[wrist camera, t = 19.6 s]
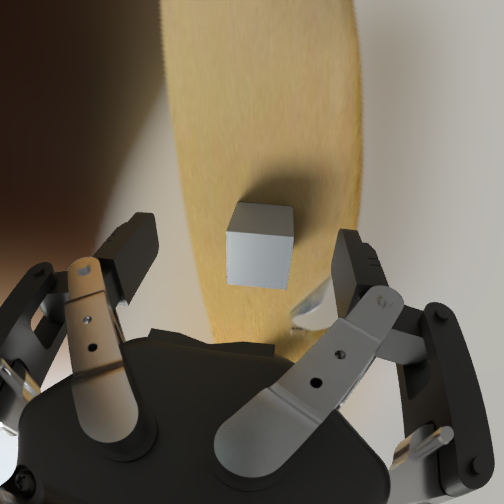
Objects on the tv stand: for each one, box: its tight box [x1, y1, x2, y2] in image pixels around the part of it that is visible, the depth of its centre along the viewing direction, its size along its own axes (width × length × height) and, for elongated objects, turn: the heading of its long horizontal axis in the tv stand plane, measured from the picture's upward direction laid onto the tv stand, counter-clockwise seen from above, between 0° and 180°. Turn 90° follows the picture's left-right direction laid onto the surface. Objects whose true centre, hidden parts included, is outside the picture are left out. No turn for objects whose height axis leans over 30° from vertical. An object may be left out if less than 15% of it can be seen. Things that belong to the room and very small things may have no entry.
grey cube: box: [226, 202, 294, 290], centre depth 33 cm, size 7×7×7 cm
